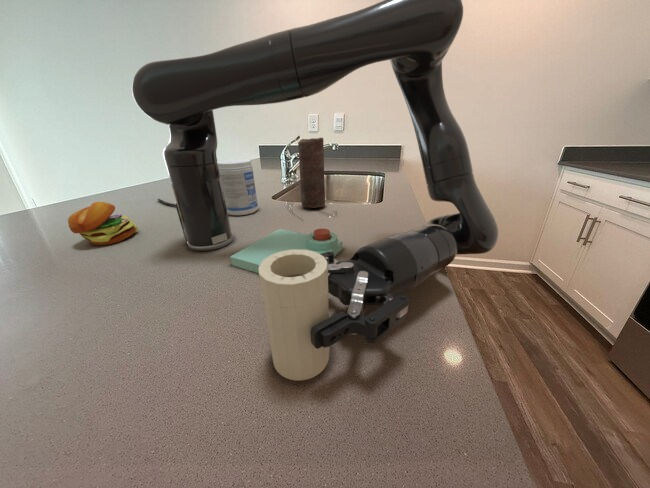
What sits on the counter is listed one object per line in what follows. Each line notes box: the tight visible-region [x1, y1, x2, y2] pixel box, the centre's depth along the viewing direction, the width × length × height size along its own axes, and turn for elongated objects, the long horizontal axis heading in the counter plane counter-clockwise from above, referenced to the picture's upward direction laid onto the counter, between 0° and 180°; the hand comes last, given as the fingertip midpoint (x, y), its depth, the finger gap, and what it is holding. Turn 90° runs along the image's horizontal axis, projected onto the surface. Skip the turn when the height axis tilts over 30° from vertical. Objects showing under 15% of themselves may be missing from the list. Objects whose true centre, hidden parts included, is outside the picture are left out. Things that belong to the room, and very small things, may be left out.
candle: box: [297, 137, 326, 209], centre depth 76 cm, size 8×7×20 cm
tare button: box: [313, 228, 331, 241], centre depth 51 cm, size 3×3×2 cm
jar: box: [258, 250, 331, 382], centre depth 27 cm, size 6×6×12 cm
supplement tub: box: [217, 158, 259, 216], centre depth 75 cm, size 10×10×15 cm
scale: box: [229, 228, 343, 274], centre depth 50 cm, size 16×15×4 cm
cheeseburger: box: [67, 201, 139, 246], centre depth 59 cm, size 10×11×10 cm
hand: (289, 313), depth 26 cm, fingers open, 8 cm apart
